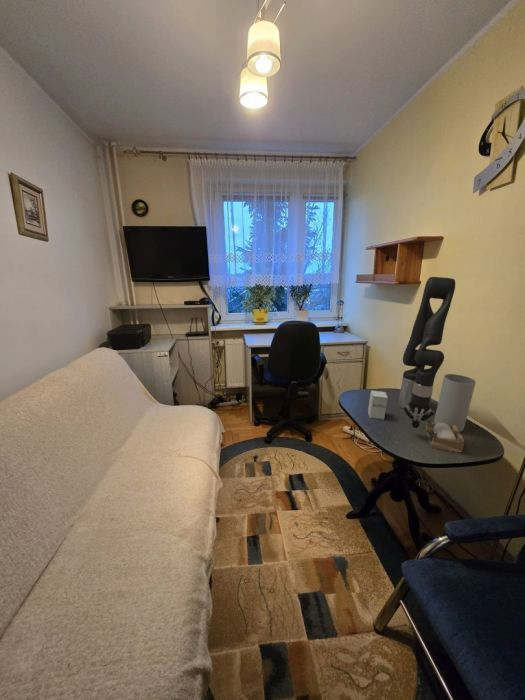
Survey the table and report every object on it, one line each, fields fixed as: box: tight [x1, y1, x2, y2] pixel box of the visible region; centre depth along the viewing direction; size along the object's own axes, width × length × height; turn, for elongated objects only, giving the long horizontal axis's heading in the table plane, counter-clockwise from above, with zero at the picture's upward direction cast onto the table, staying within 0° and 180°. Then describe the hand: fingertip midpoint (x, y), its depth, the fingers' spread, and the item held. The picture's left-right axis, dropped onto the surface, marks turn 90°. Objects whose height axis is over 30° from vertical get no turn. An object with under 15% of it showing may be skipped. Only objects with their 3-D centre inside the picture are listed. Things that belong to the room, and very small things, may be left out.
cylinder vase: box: [433, 373, 477, 433], centre depth 138 cm, size 12×12×25 cm
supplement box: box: [367, 390, 389, 420], centre depth 147 cm, size 7×7×13 cm
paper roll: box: [433, 423, 457, 441], centre depth 127 cm, size 10×7×7 cm
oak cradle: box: [424, 418, 465, 453], centre depth 127 cm, size 14×11×7 cm
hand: (414, 427), depth 131 cm, fingers closed
